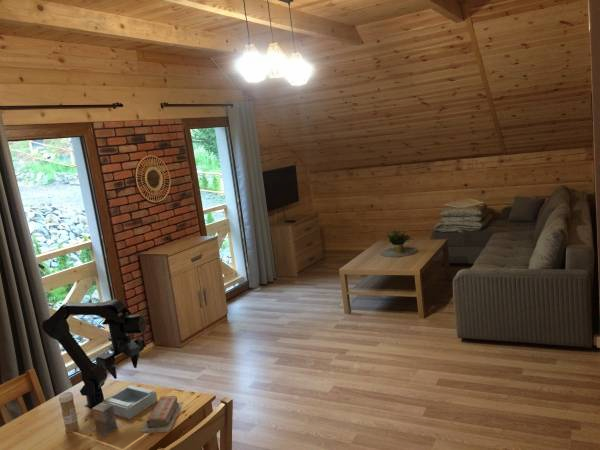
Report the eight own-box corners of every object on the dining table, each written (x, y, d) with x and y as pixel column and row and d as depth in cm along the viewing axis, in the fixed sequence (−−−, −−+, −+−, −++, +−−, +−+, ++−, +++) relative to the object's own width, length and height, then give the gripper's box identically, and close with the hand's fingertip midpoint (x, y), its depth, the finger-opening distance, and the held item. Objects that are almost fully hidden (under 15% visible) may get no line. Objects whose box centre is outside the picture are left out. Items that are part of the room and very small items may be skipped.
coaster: (92, 432, 182) (91, 431, 181) (108, 422, 187) (108, 420, 187) (104, 437, 178) (104, 435, 178) (121, 426, 183) (121, 424, 183)
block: (107, 432, 179) (103, 411, 178) (96, 429, 182) (92, 408, 181) (116, 426, 183) (112, 405, 181) (105, 423, 186) (101, 402, 184)
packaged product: (155, 395, 194) (181, 393, 194) (157, 407, 195) (183, 405, 194) (138, 422, 176) (167, 419, 176) (141, 435, 177) (169, 432, 177)
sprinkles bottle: (62, 432, 184) (55, 397, 182) (72, 425, 188) (65, 390, 186) (72, 433, 182) (65, 398, 180) (82, 426, 186) (75, 391, 184)
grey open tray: (104, 412, 195) (102, 400, 194) (132, 395, 205) (130, 384, 205) (129, 420, 187) (127, 407, 186) (157, 402, 198) (155, 390, 197)
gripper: (111, 346, 182) (119, 388, 185) (152, 327, 197) (159, 365, 200) (91, 343, 188) (99, 383, 191) (132, 324, 204) (139, 361, 206)
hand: (125, 373), depth 197 cm, fingers open, 9 cm apart
